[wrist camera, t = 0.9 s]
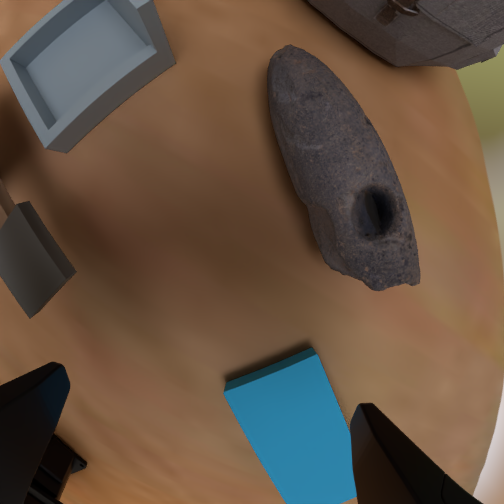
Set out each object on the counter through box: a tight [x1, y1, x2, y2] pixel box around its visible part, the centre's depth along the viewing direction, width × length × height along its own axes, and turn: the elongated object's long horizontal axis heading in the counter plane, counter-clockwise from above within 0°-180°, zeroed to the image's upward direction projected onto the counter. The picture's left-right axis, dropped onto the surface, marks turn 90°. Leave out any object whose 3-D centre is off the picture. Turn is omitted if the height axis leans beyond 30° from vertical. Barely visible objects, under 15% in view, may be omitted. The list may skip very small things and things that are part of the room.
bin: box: [0, 0, 176, 153], centre depth 12 cm, size 9×9×8 cm
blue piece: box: [223, 348, 357, 504], centre depth 23 cm, size 7×7×18 cm
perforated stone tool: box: [267, 45, 420, 291], centre depth 16 cm, size 15×5×7 cm, turn 23°
